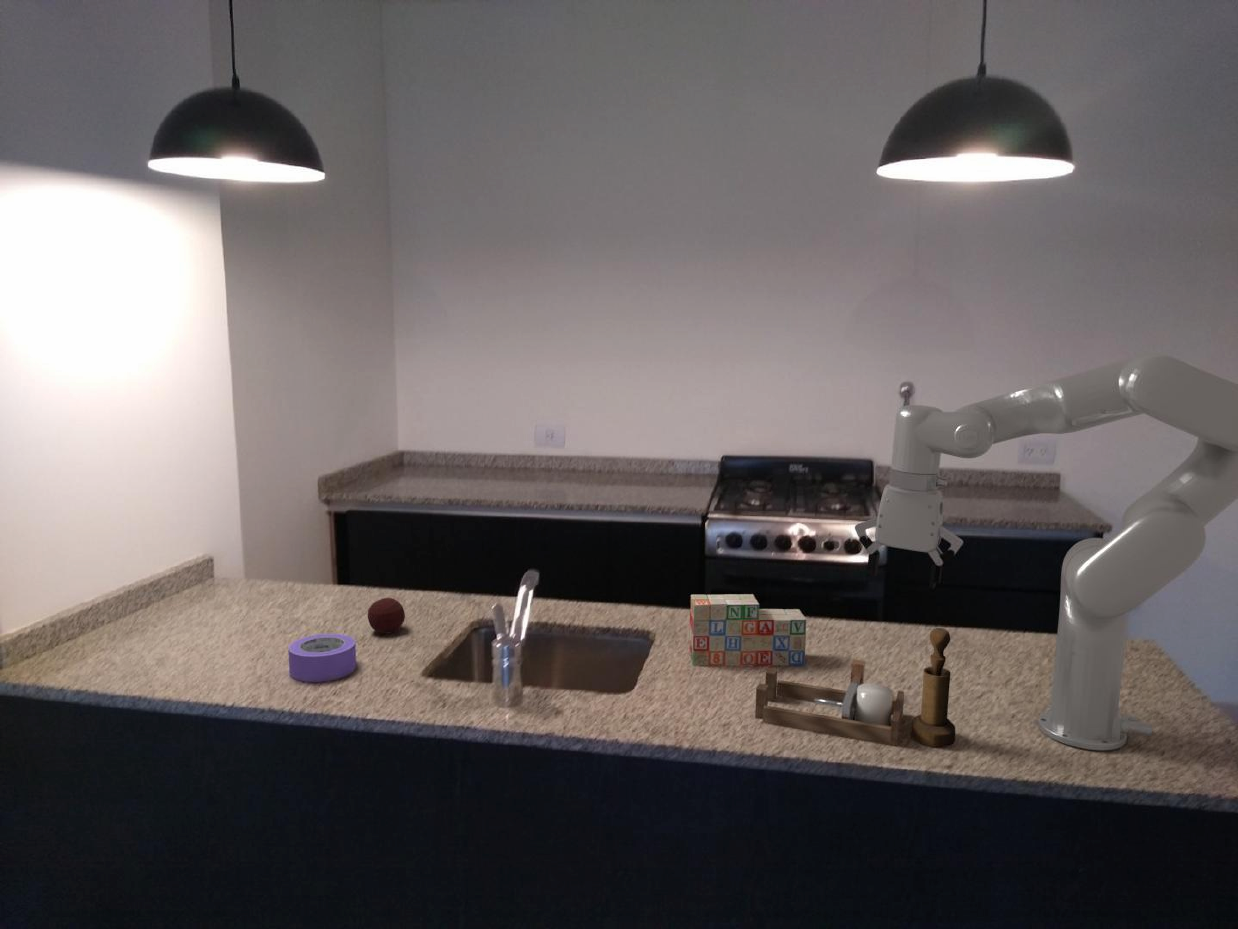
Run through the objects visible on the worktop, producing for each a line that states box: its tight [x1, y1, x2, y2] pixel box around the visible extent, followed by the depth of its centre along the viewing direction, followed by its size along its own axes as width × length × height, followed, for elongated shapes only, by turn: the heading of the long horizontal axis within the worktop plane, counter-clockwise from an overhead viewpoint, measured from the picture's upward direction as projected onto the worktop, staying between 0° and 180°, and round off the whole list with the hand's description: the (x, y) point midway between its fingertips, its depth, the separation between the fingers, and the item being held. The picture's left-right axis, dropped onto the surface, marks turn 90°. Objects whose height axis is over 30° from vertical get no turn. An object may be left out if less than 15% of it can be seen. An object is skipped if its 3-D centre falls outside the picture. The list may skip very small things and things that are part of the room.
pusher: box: [813, 659, 866, 720], centre depth 151 cm, size 7×16×6 cm, turn 158°
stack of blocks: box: [689, 593, 807, 667], centre depth 171 cm, size 21×6×12 cm, turn 91°
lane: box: [754, 667, 905, 747], centre depth 148 cm, size 22×12×5 cm, turn 68°
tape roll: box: [287, 633, 357, 683], centre depth 166 cm, size 12×12×5 cm
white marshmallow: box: [855, 682, 894, 727], centre depth 145 cm, size 6×6×6 cm
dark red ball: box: [367, 597, 406, 634], centre depth 185 cm, size 7×8×7 cm
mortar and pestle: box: [910, 627, 956, 748], centre depth 140 cm, size 7×6×18 cm
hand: (902, 580), depth 151 cm, fingers open, 9 cm apart
